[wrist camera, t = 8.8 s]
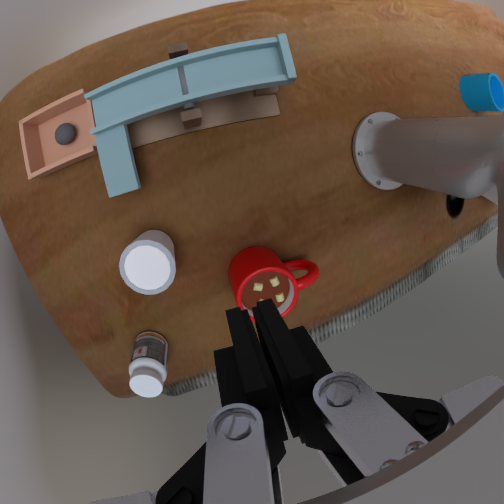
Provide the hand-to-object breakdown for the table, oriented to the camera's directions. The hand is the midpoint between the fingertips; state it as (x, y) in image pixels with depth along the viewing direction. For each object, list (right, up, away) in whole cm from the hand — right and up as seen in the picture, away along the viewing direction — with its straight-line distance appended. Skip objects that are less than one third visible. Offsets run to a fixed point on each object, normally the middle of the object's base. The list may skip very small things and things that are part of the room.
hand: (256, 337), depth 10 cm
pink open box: (-25, +19, +20) cm, 37 cm away
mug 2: (+48, +38, +29) cm, 68 cm away
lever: (-7, +18, +17) cm, 25 cm away
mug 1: (+2, +1, +32) cm, 32 cm away
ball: (-24, +18, +18) cm, 35 cm away
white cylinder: (-14, +3, +28) cm, 31 cm away
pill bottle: (-16, -12, +32) cm, 38 cm away
